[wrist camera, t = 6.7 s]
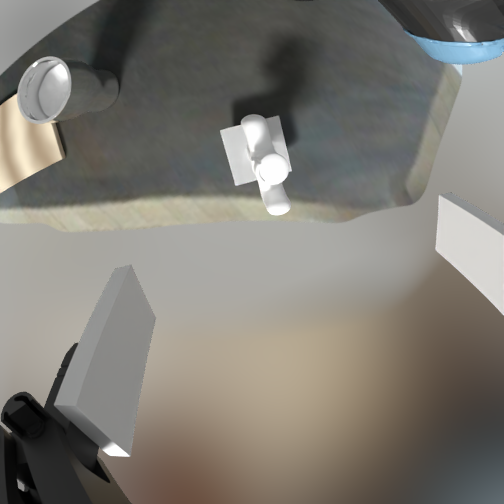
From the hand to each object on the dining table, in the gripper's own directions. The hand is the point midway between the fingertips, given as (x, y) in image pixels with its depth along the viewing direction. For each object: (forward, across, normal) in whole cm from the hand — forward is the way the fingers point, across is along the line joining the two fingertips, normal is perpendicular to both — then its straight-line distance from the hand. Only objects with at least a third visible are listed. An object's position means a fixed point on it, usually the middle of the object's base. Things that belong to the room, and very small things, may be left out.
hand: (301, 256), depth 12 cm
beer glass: (+31, +17, -13) cm, 38 cm away
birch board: (+30, +34, -12) cm, 47 cm away
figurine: (+31, -1, 0) cm, 31 cm away
